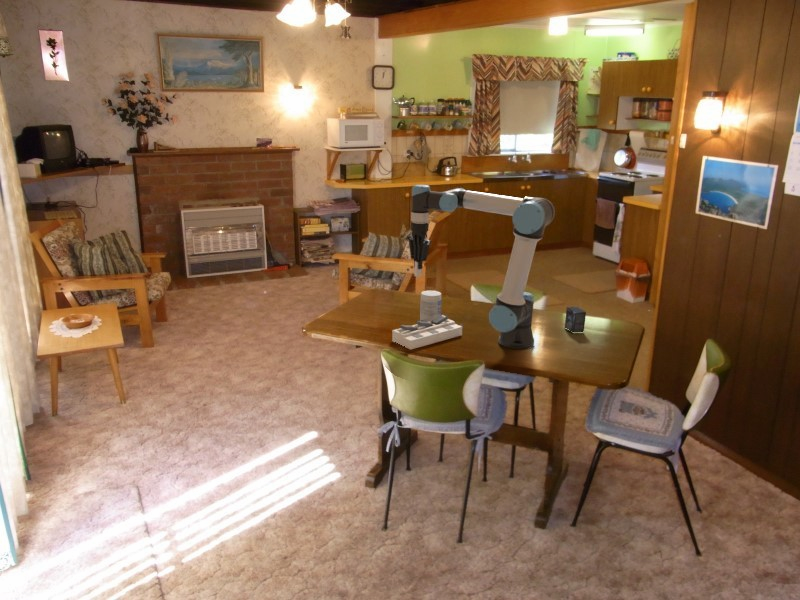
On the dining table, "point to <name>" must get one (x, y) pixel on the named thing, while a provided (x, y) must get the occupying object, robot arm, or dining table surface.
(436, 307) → the supplement tub
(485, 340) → the dining table surface
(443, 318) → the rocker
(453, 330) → the power strip
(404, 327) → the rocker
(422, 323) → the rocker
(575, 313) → the box
